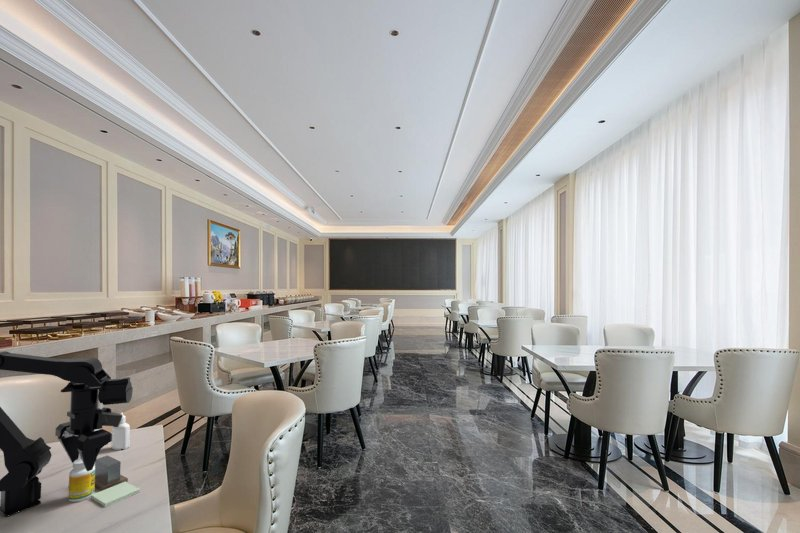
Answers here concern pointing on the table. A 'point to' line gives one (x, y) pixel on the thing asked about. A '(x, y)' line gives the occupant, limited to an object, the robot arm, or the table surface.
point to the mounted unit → (108, 473)
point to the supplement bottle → (81, 482)
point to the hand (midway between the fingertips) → (81, 466)
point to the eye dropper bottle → (121, 435)
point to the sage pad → (115, 494)
